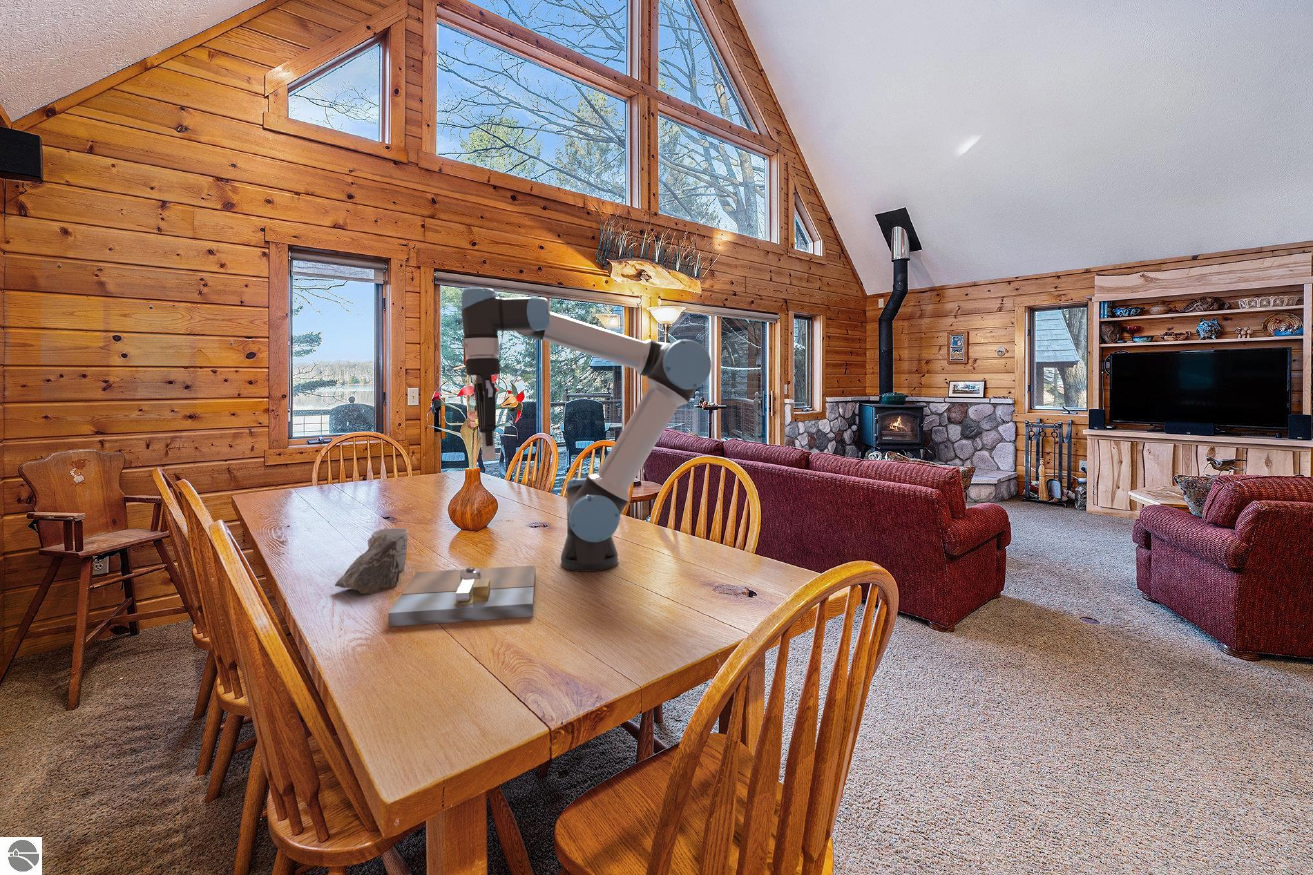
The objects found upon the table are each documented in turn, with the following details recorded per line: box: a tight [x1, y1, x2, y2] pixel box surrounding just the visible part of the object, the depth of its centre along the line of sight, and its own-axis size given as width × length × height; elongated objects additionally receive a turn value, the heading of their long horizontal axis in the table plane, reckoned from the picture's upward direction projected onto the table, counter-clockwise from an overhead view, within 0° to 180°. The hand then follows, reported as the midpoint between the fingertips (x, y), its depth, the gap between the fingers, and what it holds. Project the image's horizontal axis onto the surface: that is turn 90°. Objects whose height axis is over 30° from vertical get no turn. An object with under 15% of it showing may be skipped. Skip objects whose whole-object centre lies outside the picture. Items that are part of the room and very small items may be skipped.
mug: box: [367, 527, 409, 573], centre depth 152 cm, size 11×8×10 cm
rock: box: [334, 534, 400, 595], centre depth 140 cm, size 12×8×15 cm, turn 140°
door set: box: [387, 565, 537, 628], centre depth 132 cm, size 28×26×6 cm
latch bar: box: [456, 566, 481, 602], centre depth 128 cm, size 14×4×3 cm, turn 9°
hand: (489, 459), depth 138 cm, fingers closed
